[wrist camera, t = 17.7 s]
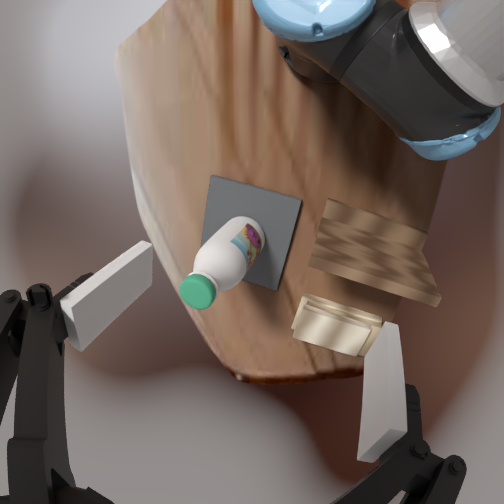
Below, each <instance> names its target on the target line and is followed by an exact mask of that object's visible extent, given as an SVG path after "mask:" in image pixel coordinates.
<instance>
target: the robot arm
mask: <svg viewBox="0 0 504 504" xmlns="http://www.w3.org/2000/svg"><path fill="white" fill-rule="evenodd" d="M252 2H253V6H254V8H255V10H256V12H257V14H258V15H259V18H260V19H261V21H262V23H263V25H265V26H266V27H267V29H268V30H270V31H271V32H272V33H274V34H275V35H276V41H277V45H278V48H279V51H280V53H281V55H282V57H283V58H284V60H285V61H286V62H287V64H288V65H289V66H290V67H292V68H293V69H294V70H295V71H296V72H297V73H299V74H300V75H302V76H304V77H306V78H308V79H310V80H313V81H317V82H322V83H341V84H342V85H344V86H345V87H346V88H347V89H348V90H349V91H351V92H352V93H353V94H354V95H355V96H356V97H357V98H359V99H360V100H361V101H362V102H363V103H364V104H365V105H366V106H367V107H368V108H370V109H371V110H372V111H373V112H374V113H375V114H376V115H377V116H378V117H379V118H380V119H381V120H382V121H383V122H384V123H385V124H386V125H387V126H388V127H389V128H390V129H391V130H392V131H393V132H394V133H395V134H396V136H397V137H399V139H401V140H402V141H404V142H406V143H407V144H408V145H409V146H410V147H411V148H412V149H413V150H414V151H415V152H416V153H418V154H419V155H420V156H422V157H423V158H426V159H429V160H434V161H440V160H447V159H451V158H454V157H457V156H459V155H461V154H464V153H465V152H467V151H469V150H471V149H472V148H474V147H475V146H476V143H477V142H478V141H480V140H484V139H485V138H486V137H488V136H489V134H491V133H492V131H493V130H494V129H495V127H496V125H497V124H498V122H499V120H500V115H501V108H500V105H502V104H503V103H504V0H440V1H439V2H438V3H432V2H416V3H414V4H413V5H412V6H411V7H410V9H409V10H406V9H405V8H404V7H403V6H401V5H400V4H399V3H398V2H396V1H395V0H252ZM152 257H153V244H151V243H148V242H145V241H141V242H139V243H138V244H136V245H135V246H133V247H132V248H130V249H129V250H128V251H126V252H125V253H123V254H122V255H120V256H119V257H118V258H116V259H115V260H113V261H112V262H111V263H109V264H108V265H106V266H105V267H104V268H102V269H101V270H100V271H98V272H97V273H96V274H93V273H88V274H85V275H82V276H81V277H79V278H78V279H77V280H75V282H72V283H71V284H70V286H67V287H66V288H65V289H63V290H62V291H60V292H59V293H58V294H56V295H55V296H54V297H52V292H51V288H50V287H49V285H46V284H42V283H40V284H35V285H33V286H31V287H29V288H28V289H27V291H26V295H27V299H28V301H25V300H22V298H21V294H20V292H19V291H17V290H7V291H5V292H3V293H2V294H1V295H0V425H1V422H2V418H3V415H4V412H5V409H6V405H7V402H8V399H9V396H10V394H11V390H12V388H13V385H14V382H15V379H16V377H17V374H18V378H17V388H16V399H15V400H16V401H15V415H14V436H13V438H11V439H9V440H8V444H7V465H8V484H9V495H6V496H0V504H114V503H113V502H112V501H110V500H109V499H107V498H105V497H104V496H102V495H101V494H99V493H97V492H96V491H94V490H93V489H91V488H90V487H88V488H87V489H82V488H79V487H76V484H75V480H74V477H73V474H72V472H71V469H70V465H69V458H68V449H67V439H66V426H65V410H64V409H65V407H64V349H65V344H64V340H65V339H66V338H67V337H68V338H69V341H70V345H72V346H73V347H75V348H76V349H78V350H80V351H83V350H84V349H85V348H86V347H87V346H88V345H89V344H90V343H91V342H92V341H93V340H94V339H95V338H96V337H97V336H98V335H99V334H100V333H101V332H102V331H103V330H104V329H105V328H106V327H107V326H108V325H109V324H110V323H111V322H112V321H114V319H116V318H117V316H119V315H120V314H121V313H122V312H123V311H124V310H125V309H126V308H127V307H128V306H129V305H130V304H131V303H132V302H133V301H135V300H136V299H137V298H138V297H139V296H140V295H141V294H142V293H143V292H144V291H145V290H146V289H147V288H148V287H149V286H151V284H152ZM420 411H421V409H420V399H419V394H418V392H417V390H416V388H415V386H413V385H409V384H405V381H404V370H403V360H402V351H401V343H400V335H399V328H398V325H396V324H393V323H390V322H386V321H385V323H384V325H383V326H382V328H381V330H380V332H379V334H378V335H377V337H376V339H375V341H374V342H373V344H372V346H371V348H370V349H369V351H368V353H367V354H366V356H365V358H364V384H363V401H362V415H361V428H360V437H359V448H358V456H357V460H360V461H365V462H372V463H373V462H374V461H375V460H376V459H378V458H379V465H378V466H377V467H376V468H374V469H373V470H372V471H371V472H369V473H368V475H367V476H365V477H364V478H363V479H362V480H360V481H359V482H358V483H357V484H355V485H354V486H353V487H352V488H350V489H349V490H348V491H347V492H345V493H344V494H343V495H341V496H340V497H339V498H337V499H336V500H335V501H333V502H332V503H330V504H388V503H389V502H390V501H391V500H392V499H393V498H394V497H395V496H396V495H397V494H398V493H399V492H400V491H401V490H403V491H405V492H406V493H405V495H404V497H403V499H402V500H401V502H400V504H455V502H456V499H457V496H458V494H459V491H460V489H461V486H462V483H463V481H464V478H465V475H466V470H467V468H466V464H465V462H464V460H463V459H462V458H461V457H460V456H456V455H451V456H449V457H448V458H446V459H443V458H441V457H438V456H437V455H434V454H433V453H431V452H430V451H431V450H430V447H429V445H428V444H427V443H426V441H424V440H423V438H422V421H421V413H420Z"/></svg>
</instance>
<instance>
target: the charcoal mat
mask: <svg viewBox="0 0 504 504" xmlns="http://www.w3.org/2000/svg"><path fill="white" fill-rule="evenodd" d="M301 201H302V199H299V198H296V197H292V196H289V195H286V194H282V193H279V192H275V191H272V190H268V189H264V188H261V187H257V186H254V185H250V184H246V183H242V182H239V181H235V180H231V179H227V178H223V177H219V176H215V175H212V176H211V177H210V184H209V190H208V197H207V204H206V211H205V218H204V225H203V232H202V240H201V247H202V246H203V245H204V244H205V243H206V242H207V241H208V240H209V239H210V238H211V237H212V236H213V235H214V234H215V233H216V232H217V231H218V230H219V229H220V228H221V227H223V226H224V225H225V224H226V223H227V222H228V221H229V220H231V219H232V218H235V217H239V216H244V217H248V218H251V219H253V220H255V221H256V222H257V223H258V224H259V225H260V226H261V228H262V230H263V232H264V236H265V243H264V246H263V248H262V250H261V252H260V253H259V255H258V256H257V258H256V259H255V261H254V263H253V264H252V266H251V267H250V269H249V270H248V271H247V273H246V274H245V276H244V277H243V278H242V280H245V281H248V282H251V283H254V284H257V285H260V286H263V287H266V288H269V289H272V290H275V291H276V290H277V287H278V284H279V281H280V277H281V274H282V270H283V267H284V263H285V260H286V256H287V252H288V249H289V245H290V242H291V238H292V234H293V231H294V227H295V223H296V220H297V216H298V212H299V209H300V205H301ZM200 249H201V248H200Z"/></svg>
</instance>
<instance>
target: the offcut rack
mask: <svg viewBox="0 0 504 504" xmlns="http://www.w3.org/2000/svg"><path fill="white" fill-rule="evenodd" d="M427 236H428V234H427V232H425V231H422V230H420V229H417V228H414V227H412V226H409V225H406V224H403V223H401V222H398V221H395V220H392V219H389V218H387V217H384V216H381V215H378V214H375V213H372V212H369V211H366V210H363V209H360V208H357V207H354V206H351V205H348V204H345V203H342V202H339V201H336V200H332V199H329V198H328V199H327V202H326V205H325V209H324V212H323V216H322V219H321V222H320V226H319V229H318V233H317V236H316V240H315V243H314V247H313V250H312V254H311V257H310V261H309V264H308V266H310V267H313V268H316V269H319V270H322V271H325V272H328V273H331V274H334V275H338V276H341V277H344V278H347V279H350V280H353V281H356V282H359V283H362V284H366V285H369V286H372V287H375V288H378V289H381V290H384V291H387V292H390V293H393V294H397V295H400V296H403V297H406V298H409V299H412V300H415V301H419V302H421V303H424V304H427V305H430V306H434V307H437V306H438V304H439V302H440V300H441V295H440V292H439V290H438V287H437V285H436V283H435V280H434V278H433V276H432V273H431V271H430V268H429V266H428V264H427V262H426V259H425V257H424V255H423V253H422V251H421V250H422V248H423V246H424V243H425V241H426V239H427ZM381 328H382V317H381V316H378V315H374V314H371V313H368V312H365V311H361V310H358V309H355V308H352V307H349V306H345V305H342V304H339V303H336V302H333V301H330V300H327V299H323V298H320V297H317V296H314V295H311V294H308V293H305V292H304V293H303V296H302V299H301V302H300V304H299V307H298V310H297V313H296V316H295V318H294V321H293V324H292V327H291V329H294V333H293V336H292V337H293V338H296V339H299V340H302V341H305V342H309V343H312V344H315V345H318V346H322V347H325V348H328V349H331V350H335V351H338V352H341V353H345V354H348V355H352V356H355V357H356V356H357V354H358V355H361V356H366V354H367V353H368V351H369V349H370V348H371V346H372V344H373V342H374V341H375V339H376V337H377V335H378V334H379V332H380V330H381Z"/></svg>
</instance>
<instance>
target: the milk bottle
mask: <svg viewBox="0 0 504 504" xmlns="http://www.w3.org/2000/svg"><path fill="white" fill-rule="evenodd" d="M264 243H265V236H264V232H263V230H262V228H261V226H260V225H259V224H258V223H257V222H256V221H255V220H253V219H251V218H248V217H244V216H239V217H235V218H232V219H231V220H229V221H228V222H227V223H226V224H225V225H224V226H223V227H221V228H220V229H219V230H218V231H217V232H216V233H215V234H214V235H213V236H212V237H211V238H210V239H209V240H208V241H207V242H206V243H205V244H204V245H203V246H202V247H201V249H200V250H199V251H198V253H197V255H196V258H195V261H194V269H193V272H192V273H190V274H189V275H188V276H187V277H186V278H185V279H184V280H183V282H182V283H181V286H180V294H181V297H182V299H183V300H184V301H185V303H186V304H188V305H189V306H190V307H192V308H195V309H199V310H202V309H206V308H208V307H209V306H210V305H211V304H212V303H213V301H214V300H215V299H216V297H217V295H218V293H219V292H223V291H226V290H229V289H231V288H233V287H234V286H236V285H237V284H238V283H239V282H240V281H241V280H242V278H243V277H244V276H245V274H246V273H247V271H248V270H249V269H250V267H251V266H252V264H253V263H254V261H255V259H256V258H257V256H258V255H259V253H260V252H261V250H262V248H263V246H264Z"/></svg>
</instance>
